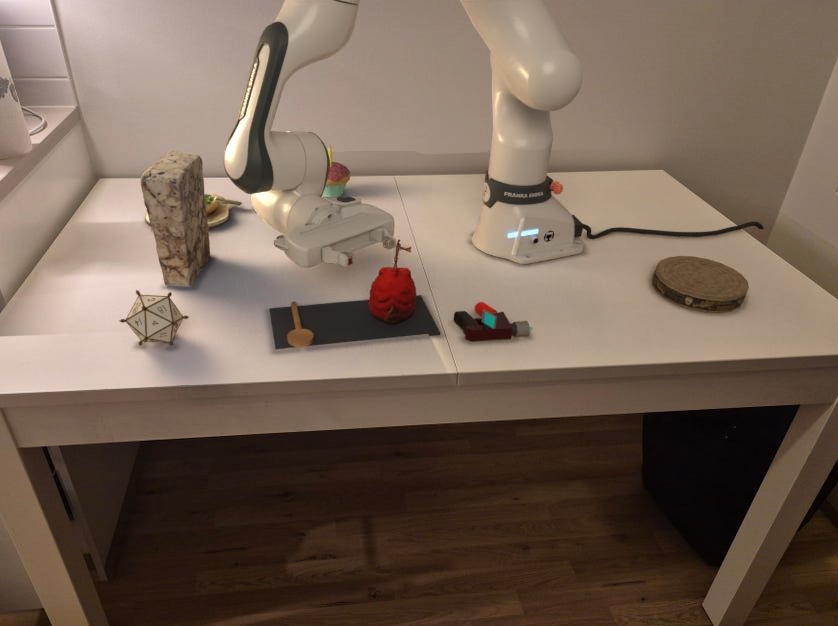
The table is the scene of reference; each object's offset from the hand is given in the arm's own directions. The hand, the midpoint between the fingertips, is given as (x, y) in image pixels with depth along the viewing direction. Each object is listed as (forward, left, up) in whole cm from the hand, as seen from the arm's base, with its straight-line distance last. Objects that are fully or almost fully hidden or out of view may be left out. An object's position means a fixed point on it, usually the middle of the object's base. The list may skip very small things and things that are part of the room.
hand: (371, 252), depth 105 cm
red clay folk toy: (-3, +5, -9) cm, 11 cm away
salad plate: (+31, -42, -10) cm, 53 cm away
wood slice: (-60, +5, -10) cm, 61 cm away
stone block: (+30, -17, -10) cm, 36 cm away
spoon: (+13, +5, -9) cm, 17 cm away
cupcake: (-1, -50, -10) cm, 51 cm away
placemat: (+4, +5, -10) cm, 12 cm away
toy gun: (-18, +10, -10) cm, 23 cm away
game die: (+34, +5, -10) cm, 36 cm away
